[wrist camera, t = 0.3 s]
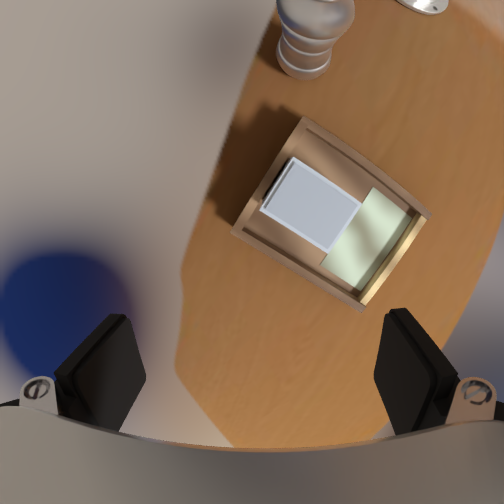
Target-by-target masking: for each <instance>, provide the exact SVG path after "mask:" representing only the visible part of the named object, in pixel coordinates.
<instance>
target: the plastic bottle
mask: <svg viewBox="0 0 504 504" xmlns="http://www.w3.org/2000/svg"><path fill="white" fill-rule="evenodd" d="M276 4H277V10H278V14H279V17H280V21H281V24H282V35H281V38H280V39H279V42H278V45H277V47H276V57H277V60H278V63H279V65H280V66H281V68H282V69H283V70H284V72H285V73H287V74H288V75H289V76H291V77H293V78H296V79H299V80H311V79H315V78H317V77H319V76H320V75H322V74H323V73H324V72H325V71H326V70H327V69H328V67H329V65H330V62H331V51H332V47H333V45H334V44H335V42H336V41H337V39H338V38H339V37H340V36H341V35H342V34H344V33H345V32H346V31H347V30H348V28H349V27H350V26H351V24H352V23H353V21H354V17H355V7H354V2H353V0H276Z"/></svg>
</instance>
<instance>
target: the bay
mask: <svg viewBox="0 0 504 504" xmlns="http://www.w3.org/2000/svg"><path fill="white" fill-rule="evenodd" d="M291 157H295V158H296V159H298V160H299V161H301V162H302V163H304V164H306V165H307V166H309V167H310V168H312V169H313V170H315V171H316V172H318V173H319V174H321V175H322V176H324V177H325V178H327V179H328V180H330V181H331V182H332V183H334V184H335V185H337V186H338V187H340V188H341V189H342V190H344V191H345V192H347V193H348V194H349V195H351V196H352V197H354V198H355V199H356V200H358V201H359V202H360V203H362V205H361V207H360V208H359V210H358V211H357V213H356V214H355V216H354V217H353V219H352V220H351V222H350V223H349V225H348V226H347V228H346V229H345V231H344V232H343V234H342V235H341V236H340V238H339V239H338V241H337V242H336V244H335V245H334V247H333V248H332V249H331V251H330V252H329V254H327V253H326V252H324V251H323V250H321V249H320V248H318V247H316V246H315V245H313V244H312V243H310V242H309V241H307V240H306V239H304V238H302V237H301V236H299V235H298V234H296V233H295V232H293V231H291V230H290V229H288V228H287V227H285V226H284V225H282V224H280V223H279V222H277V221H276V220H274V219H272V218H271V217H269V216H268V215H266V214H264V213H263V212H261V211H260V210H259V209H260V206H261V203H262V200H263V199H264V197H265V195H266V194H267V192H268V191H269V189H270V188H271V186H272V184H273V183H274V181H275V180H276V178H277V177H278V175H279V173H280V172H281V170H282V169H283V167H284V166H285V164H286V162H287V161H288V159H289V158H291ZM431 215H432V213H431V212H430V211H429V210H427V209H426V208H425V207H424V206H423V205H422V204H421V203H420V202H419V201H417V200H416V199H415V198H414V197H413V196H412V195H411V194H410V193H408V192H407V191H406V190H405V189H404V188H402V187H401V186H400V185H399V184H398V183H397V182H395V181H394V180H393V179H392V178H390V177H389V176H388V175H387V174H385V173H384V172H383V171H382V170H380V169H379V168H378V167H377V166H375V165H374V164H373V163H371V162H370V161H369V160H367V159H366V158H365V157H363V156H362V155H361V154H359V153H358V152H357V151H355V150H354V149H353V148H351V147H350V146H348V145H347V144H346V143H344V142H343V141H341V140H340V139H338V138H337V137H335V136H334V135H333V134H331V133H330V132H328V131H327V130H325V129H324V128H322V127H321V126H319V125H317V124H316V123H314V122H313V121H311V120H310V119H308V118H306V117H305V116H303V117H302V119H301V120H300V122H299V123H298V125H297V126H296V128H295V129H294V131H293V132H292V134H291V135H290V137H289V138H288V140H287V142H286V143H285V145H284V146H283V148H282V149H281V151H280V152H279V154H278V156H277V157H276V159H275V160H274V162H273V163H272V165H271V167H270V168H269V170H268V171H267V173H266V174H265V176H264V178H263V179H262V181H261V182H260V184H259V186H258V187H257V189H256V190H255V192H254V194H253V195H252V197H251V198H250V200H249V202H248V203H247V205H246V207H245V208H244V210H243V211H242V213H241V215H240V216H239V218H238V220H237V221H236V223H235V224H234V226H233V228H232V230H231V231H230V233H231V234H233V235H234V236H236V237H238V238H239V239H241V240H243V241H244V242H246V243H248V244H249V245H251V246H253V247H254V248H256V249H258V250H259V251H261V252H262V253H264V254H266V255H267V256H269V257H271V258H272V259H274V260H276V261H277V262H279V263H280V264H282V265H284V266H285V267H287V268H289V269H290V270H292V271H294V272H295V273H297V274H298V275H300V276H302V277H303V278H305V279H307V280H308V281H310V282H312V283H313V284H315V285H316V286H318V287H320V288H321V289H323V290H325V291H326V292H328V293H329V294H331V295H333V296H334V297H336V298H338V299H339V300H341V301H342V302H344V303H346V304H347V305H349V306H351V307H352V308H354V309H355V310H357V311H359V312H360V313H362V312H363V311H364V309H365V308H366V306H365V305H366V304H367V303H368V302H369V300H370V299H371V298H372V296H373V295H374V294H375V293H376V291H377V290H378V289H379V287H380V286H381V285H382V283H383V282H384V281H385V279H386V278H387V277H388V275H389V274H390V273H391V271H392V270H393V268H394V267H395V266H396V264H397V263H398V262H399V260H400V259H401V257H402V256H403V254H404V253H405V251H406V250H407V249H408V247H409V246H410V244H411V243H412V241H413V240H414V238H415V237H416V235H417V234H418V232H419V231H420V229H421V228H422V226H423V224H424V223H425V221H426V220H429V218H430V217H431Z"/></svg>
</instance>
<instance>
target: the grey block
mask: <svg viewBox="0 0 504 504" xmlns="http://www.w3.org/2000/svg"><path fill="white" fill-rule="evenodd" d="M361 205H362V203H360V202H359V201H358V200H356V199H355V198H354V197H352V196H351V195H349V194H348V193H347V192H345V191H344V190H342V189H341V188H340V187H338V186H337V185H335V184H334V183H332V182H331V181H330V180H328V179H327V178H325V177H324V176H322V175H321V174H319V173H318V172H316V171H315V170H313V169H312V168H310V167H309V166H307V165H306V164H304V163H302V162H301V161H299V160H298V159H296V158H295V157H291V158H289V159H288V161H287V162H286V164H285V166H284V167H283V169H282V170H281V172H280V173H279V175H278V177H277V178H276V180H275V181H274V183H273V184H272V186H271V188H270V189H269V191H268V192H267V194H266V195H265V197H264V199H263V200H262V203H261V206H260V209H259V210H260V211H261V212H263V213H264V214H266V215H268V216H269V217H271V218H272V219H274V220H276V221H277V222H279V223H280V224H282V225H284V226H285V227H287V228H288V229H290V230H291V231H293V232H295V233H296V234H298V235H299V236H301V237H302V238H304V239H306V240H307V241H309V242H310V243H312V244H313V245H315V246H316V247H318V248H320V249H321V250H323V251H324V252H326V253H327V254H329V252H330V251H331V249H332V248H333V247H334V245H335V244H336V242H337V241H338V239H339V238H340V236H341V235H342V234H343V232H344V231H345V229H346V228H347V226H348V225H349V223H350V222H351V220H352V219H353V217H354V216H355V214H356V213H357V211H358V210H359V208H360V207H361Z"/></svg>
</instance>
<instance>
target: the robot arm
mask: <svg viewBox="0 0 504 504" xmlns="http://www.w3.org/2000/svg"><path fill="white" fill-rule="evenodd" d="M397 1H398V2H400V3H401V4H403V5H404V6H406V7H408V8H410V9H412V10H414V11H417V12H420V13H423V14H428V15H435V14H439V13H441V12H443V11H444V10H445V9H446V8H447V6H448V0H397ZM54 375H55V377H56V379H57V380H56V381H55V382H54V381H53V380H52V379H51V378H49V377H44V376H41V377H35V378H33V379H31V380H29V381H27V382H26V383H25V384H24V385H23V386H22V388H21V390H20V399H17V400H13V401H9V402H6V403H2V404H0V504H504V403H502V402H499V401H496V390H495V388H494V387H493V386H492V385H491V383H489V382H488V381H486V380H485V379H482V378H478V377H468V378H466V379H463V380H462V381H460V379H459V378H458V376H457V375H458V373H457V372H456V370H455V369H454V367H453V366H452V365H451V363H450V362H449V361H448V359H447V358H446V357H445V356H444V354H443V353H442V352H441V350H440V349H439V348H438V346H437V345H436V344H435V343H434V341H433V340H432V339H431V338H430V336H429V335H428V334H427V333H426V331H425V330H424V329H423V328H422V327H421V325H420V324H419V323H418V322H417V320H416V319H415V318H414V317H413V316H412V314H411V313H410V312H409V311H408V310H407V309H406V308H398V309H391V310H390V311H389V313H388V314H385V317H384V323H383V329H382V334H381V340H380V345H379V351H378V355H377V360H376V365H375V370H374V381H375V383H376V386H377V388H378V391H379V393H380V396H381V398H382V401H383V403H384V406H385V408H386V411H387V413H388V416H389V419H390V421H391V424H392V427H393V429H394V432H395V435H396V436H391V437H385V438H380V439H373V440H367V441H361V442H354V443H346V444H338V445H328V446H317V447H302V448H270V449H260V448H229V447H214V446H213V447H212V446H202V445H193V444H185V443H177V442H170V441H164V440H157V439H152V438H146V437H141V436H136V435H131V434H126V433H122V432H119V430H120V428H121V426H122V424H123V422H124V420H125V418H126V416H127V415H128V413H129V411H130V409H131V407H132V405H133V403H134V402H135V400H136V398H137V396H138V394H139V392H140V391H141V389H142V387H143V385H144V383H145V381H146V373H145V370H144V367H143V363H142V360H141V357H140V354H139V350H138V346H137V343H136V339H135V335H134V332H133V328H132V324H131V321H130V319H129V318H127V317H126V316H125V315H124V314H110V315H108V317H106V318H105V320H103V321H102V323H100V325H98V326H97V327H96V329H95V330H94V331H93V332H92V333H91V334H90V335H89V336H88V337H87V338H86V339H85V340H84V341H83V342H82V343H81V344H80V345H79V346H78V347H77V348H76V349H75V350H74V351H73V352H72V353H71V354H70V356H69V357H68V358H67V359H66V360H65V361H64V362H63V363H62V364H61V365H60V366H59V367H58V369H57V370H56V371H55V372H54Z"/></svg>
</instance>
